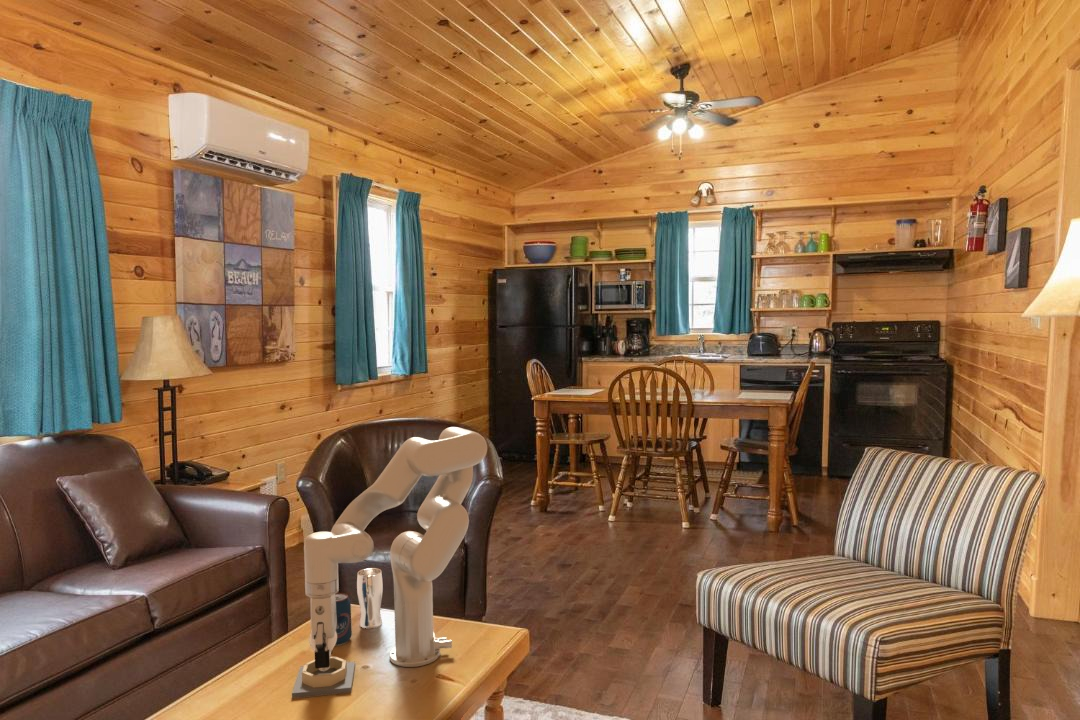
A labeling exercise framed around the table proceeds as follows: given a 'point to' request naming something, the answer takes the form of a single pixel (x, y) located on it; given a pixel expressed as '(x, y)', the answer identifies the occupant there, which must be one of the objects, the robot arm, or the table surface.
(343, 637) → the soda can
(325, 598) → the robot arm
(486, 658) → the table surface
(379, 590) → the beer glass
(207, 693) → the table surface
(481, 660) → the table surface
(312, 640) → the lightbulb
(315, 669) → the socket holder
